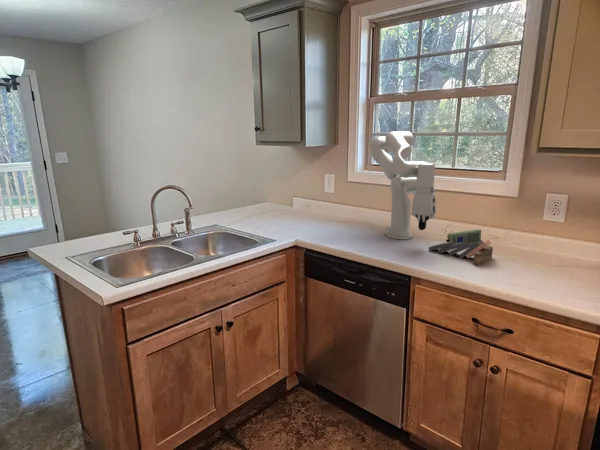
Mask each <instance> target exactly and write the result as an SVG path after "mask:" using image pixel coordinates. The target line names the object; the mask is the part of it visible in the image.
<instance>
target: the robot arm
mask: <svg viewBox="0 0 600 450" xmlns="http://www.w3.org/2000/svg"><path fill="white" fill-rule="evenodd" d="M414 143H415V138H414V134H412V132H411V131H407V130H404V131H403V130H402V131H399V130H398V131H397V130H396V131H390V132H388V133H387V134H386V135H384V136H383V135H382V136H375V137H373V138H371V140H370V142H369V152H370V154H371V157H372V158H373V160H374V161H375V162H376V164H378V165H379V167H380V168H381V170H382V171H383V173H384V176H386V178H387V179H388V180H389V181H390V191H391V210H390V211H391V213H390V226H389V225H385V226H384V231H388V232H387V234H386V236H387V237H388V238H390V239H392V240H393V239H394V240H410V239H412V238H413V234H412V233H411V232H410V225H411V215H412V216H413V217H415V218H416V219H417V222H418V226H417V227H418V230H419V231H424V230H426V228H427V221H429V220H433V219H435V215H436V213H437V200H436V198H437V197H436V192H437V189H435V185H434V184H435V174H436V172H435V171H436V165H435V164H434V163H432V162H426V161H425V160H414V161H413V160H411V161H405V160H406V159H408V158H409V156H410V155H411V154H412V147H413V145H414ZM391 153H392V154H393V155H392V154H391ZM410 194H412V195H413V198H412V201H411V199H410V197H409V196H408V195H410Z"/></svg>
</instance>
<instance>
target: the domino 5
mask: <svg viewBox="0 0 600 450" xmlns="http://www.w3.org/2000/svg"><path fill="white" fill-rule="evenodd" d="M483 242H484V243H482V244H481V245H479V246H478V247H477V248H475V249H474V250H472V251H471V252H469V253H468V254H467V255H466V256H465V257H466V258H467V259H469V258H471V257H474V253H476V252H477V251H479V250H481V249H483V248H485V247H487V246H490V244H492V242H491V241H490V240H489V239H488V240H486V241H483Z"/></svg>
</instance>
